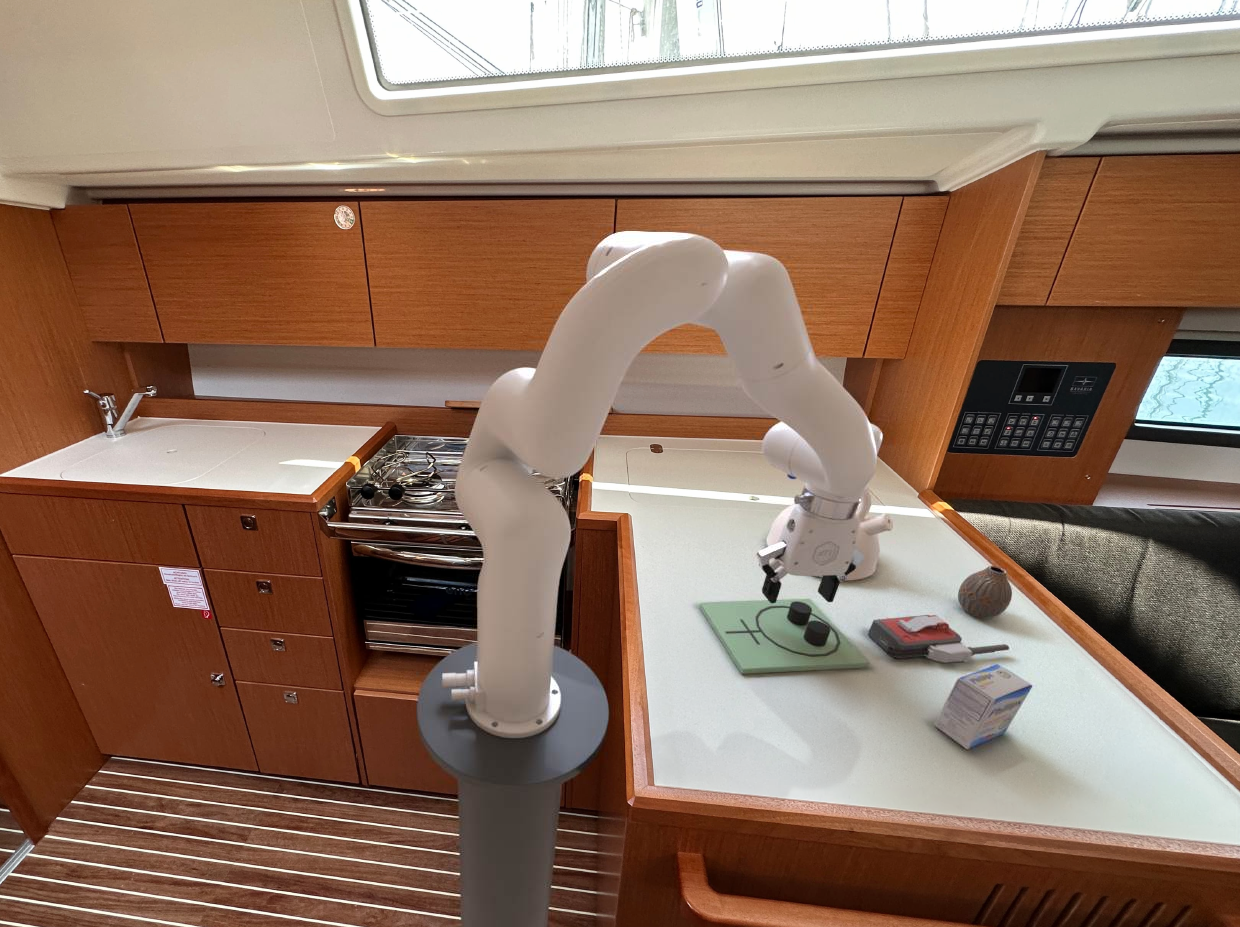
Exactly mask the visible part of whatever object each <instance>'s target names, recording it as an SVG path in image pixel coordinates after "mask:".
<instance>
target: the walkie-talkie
mask: <svg viewBox="0 0 1240 927" xmlns="http://www.w3.org/2000/svg"><path fill="white" fill-rule="evenodd" d="M867 636H869V637H870V638H871V639H872V640H873V641H874V642H875V643H876V644H878V645H879V646H880V647H881V648H882V650H884V651H885V652H886V653H887V654H888V655H889V656H891V657H893V658H896V659H907V658H915V657H926V658H927V659H930V660H933V661H937V662H940V663H944V664H947V663H955V662H957V663H958V662H969V660H970V658H971V657H972V656H975V655H983V654H990V653H991V654H992V653H995V652H1002V651H1009V650H1010V646H1009V645H1008V644H1005V643H1003V644H995V645H993V644H992V645H985V646H975V647H972V646H966V645H965V644H964V643H962V640H963V638H962V637H961V635H960V634H959V633H958V632H956V631H955V630H953V629H952V628H951V627H950V625H949V624H948V623H947V622H946V621H944V620H943V619H942V618H941V617H940V616H938V615H936V614H932V615H929V614H922V615H912V616H902V617H901V616H900V617H890V618H881V619H873V620H872V623H871V625H870V627H869V630H868V632H867Z"/></svg>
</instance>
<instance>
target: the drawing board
mask: <svg viewBox="0 0 1240 927" xmlns="http://www.w3.org/2000/svg"><path fill="white" fill-rule="evenodd" d="M795 601H799V602H803V603H806V604H807V605H809V606H810V607H811V608H812V612H811V615H810V618H809V621H808V622H810V621H820V622H822V623H825V624H826V625H827V626H829V628H830V634H829V636H828V639H827V642H826V644H825V645H824V646H822V647H817V646H813V645H811V644H809V643H808V642H806V641H805V639H804V633H805V631H806V628H807V625H808V624H807V625H805V626H799V625H795V624H793V623H791V622H790V621H789V620H788V619H787V615H788V611H789V608H790V605H791V603H792V602H795ZM698 607H699V610H700V611H701V612H702V614H703V615H704V617H705V619H706V621H707V622H708V623H709V625H710V628H712V631H713V632H714V633H715V634H716V636H717V638H718V640H719V641H720V643H721V644H722V646H723V648H724V649H725V650H726V652H727V654H728V655H729V657H730V659H731V660H732V662H733V664H734V665H735V666H736V668H737V669H738V671H739V672H740V674H741V675H745V674H747V675H748V674H766V673H785V672H804V671H805V672H806V671H825V670H844V669H847V670H848V669H867V668H868V667H869V666H870V662H869V661H868V659H867V658H866V657H865V656H864V655H863V654H862V653H861V652H860V651H859V650H858V648H857V647H855V646H854V644H853V643H852V642H851V641H850V640H849V639H848V638H847V637H846V636H845V634H843V632H841V630H840V629H839V628H837V626H836V625H835V624H834V623H833V622H832V621H831V620H830V618H828V617H827V615H825V613H824V612H822V610H821V609H820V608H819V607H818V606H817V605H816V604H815V603H814V602H813V601H812V600H811V598H791V599H777V601H776V602H775V603H770V602H769V601H768V599H764V600H737V601H706V602H703V601H702V602H699V606H698Z"/></svg>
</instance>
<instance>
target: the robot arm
mask: <svg viewBox="0 0 1240 927" xmlns="http://www.w3.org/2000/svg"><path fill="white" fill-rule="evenodd" d="M585 278H586V283H585V284H584V285H583V286H582V287H581V288H580V289H579V290H578V291H577V292H576V293H575V294H574V296H573V297H572V298H571V299H570V300H569V302H568V303H567V304H566V306H565V307H564V308H563V310H562V311H561V313H560V315H559V317H558V318H557V320H556V322H555V324H554V326H553V329H552V331H551V333H550V336H549V337H548V340H547V342H546V345H545V347H544V349H543V351H542V354H541V356H540V359H539V361H538V363H537V365H536V368H535V367H527V366H526V367H517V368H514V369H510V370H509V371H507V372H505V373H504V374H502V375H500V377H498V378H497V379H496V380H495V381H494V382H493V384H491V386H490V388H489V389H488V390H487V392H486V393H485V395H484V397H483V399H482V401H481V404H480V407H479V409H478V412H477V414H476V417H475V420H474V423H473V426H472V428H471V429H472V430H471V432H470V433H469V434H470V435H469V437H468V440H467V443H466V446H465V449H464V452H463V455H462V458H461V461H460V463H459V468H458V470H457V473H456V478H455V483H454V484H455V485H454V499H455V502H456V506H457V508H458V509H459V512H460V513H461V515H462V516H463V518H464V519H465V521H466V522H467V524H468V525H469V527H470V529H472V532H473V533H474V535H475V536H476V538H477V539H478V541H479V543H480V545H481V548H482V554H483V561H482V566H481V569H480V572H479V575H478V578H477V579H478V580H477V587H476V588H477V591H476V599H477V600H476V604H477V605H476V608H477V609H476V610H477V613H476V616H477V618H476V620H477V625H476V626H477V628H476V630H477V631H476V633H477V635H476V636H477V640H476V642H477V662H474V670H467V673H459V674H456V673H443V674H442V687H443V689H444V688H456V687H467V689H462V690H461V689H452V701H453V700H462V699H466V708H467V711H468V714H469V715H470V717H471V719H472V720H473V721H474V722H475V723H476V724H477V725H478V726H479V727H480V728H482V729H483V730H485V731H486V732H489V733H491V734H493V735H496V736H500V737H504V738H524V737H529V736H533V735H535V734H538V733H540V732H542V731H543V730H545V729H546V728H548V727H549V726H550V725H551V724H552V723H553V722H554V721H555V719H556V718H557V716H558V714H559V711H560V706H561V692H560V689H559V686H558V685H557V683H556V681H555V680H554V679H553V678H552V676H551V673H552V661H553V649H554V645H555V635H556V623H557V611H558V610H557V609H558V607H557V606H558V597H559V586H560V579H561V574H562V571H563V570H562V569H563V566H564V563H565V560H566V557H567V554H568V550H569V547H570V543H571V535H572V533H571V532H572V528H571V523H570V519H569V515H568V513H567V512H566V510H565V507H564V505H562V503H561V501H560V500H559V499H558V498H557V496H556V495H555V494H554V493H553V492H552V491H551V490H549V489H548V487H546V486H545V485H544V483H542V482H541V481H540V480H539V479H538V478H537V477H536V476H534V475H533V474H532V473H533V471H535V472H536V473H537V474H540V475H541V476H544V477H546V478H550V479H554V480H556V479H557V480H558V479H559V480H560V479H567V478H570V477H572V476H574V475H575V474H576V473H578V472H580V470H582V469H583V467H584V466H585V465H586V464H587V462H588V461H589V458H590V457H591V455H592V453H593V451H594V448H595V446H596V444H597V442H598V438H599V437H600V435H601V432H602V430H603V428H604V425H605V422H606V420H607V418H608V415H609V413H610V411H611V409H612V406H613V403H614V401H615V398H616V396H617V394H618V391H619V389H620V387H621V384H622V382H623V380H624V378H625V376H626V375H627V372H628V370H629V368H630V366H631V365H632V363H633V362H634V360H635V358H636V357H637V356H638V355H639V353H640V352H641V351H642V350H643V349H644V348H645V347H646V346H647V345H649V344H650V343H651V342H652V341H654V340H655V339H656V338H658V337H659V336H661V335H663V334H664V333H666V332H669V331H670V330H672V329H675V328H677V327H681V326H683V325H688V324H691V325H696V326H699V327H703V328H708V329H711V330H713V331H715V332H716V334H717V335H718V336H719V338H720V341H721V343H722V345H723V348H724V349H725V352H726V353H727V356H728V358H729V360H730V363H731V365H732V367H733V370H734V371H735V374H736V376H737V378H738V381H739V384H740V387H741V388H742V391H744V393H745V394H746V395H747V396H748V398H749V399H751V401H753V402H754V403H755V404H756V405H758V407H759V408H761V409H763V410H764V411H765V412H766V413H767V414H769V415H770V416H772V417H773V418H775V419H777V420H778V421H779V422H778V423H776V424H775V425H773V426H772V427H771V428H770V429H769V430H768V431H767V432H766V434H765V435H764V437H763V439H762V444H761V451H762V454H763V457H764V459H765V460H766V461H767V463H768V464H770V465H771V466H772V467H774V468H775V469H777V470H779V471H781V472H782V473H784V474H787V475H788V474H789V475H791V476H793V477H795V478H796V479H798V480H800V481H803V482H805V483H804V486H803V488H802V492H801V494H799V495H798V494H797V495H795V496H794V497H793V498H794V499H793V502H794V503H795V504H799V505H796V506H795V507H794V509H793V510H792V512H791V514H790V516H789V517H788V519H787V521H786V523H785V526H784V528H783V530H782V533H781V535H780V538H779V541H778V544H775V545H773V546H771V547H768V546H767V547H766V548H764V549H761V550H759V551H757V552H756V559H757V562H758V566H759V567H760V569H761V570H762V571H763V573H764V574H765V578H764V582H763V585H762V588H761V593H762V595H763V596H764V597H765V598H766V600H768V601H769V602H770V603H775V602H776V601H777V600H778V598H779V594H780V591H781V587H782V582H781V580H782V579H784V577H786V576H787V575H788V574H789V575H790V576H795V577H796V576H797V577H800V576H801V577H808V576H809V577H813V576H814V577H817V576H823V577H822V578H821V580H820V583H819V586H818V589H817V592H818V594H819V595H820V596H821V597H822V598H823V599H824V600H825V601H826V602H827V603H833V602H834V600H835V597H836V594H837V592H838V590H839V586H840V583H841V582H845V581H844V580H845V579H846V576H847V575H848V574H849V573H851V572H852V571H854V570H855V569H856V565H858V564H859V563H860V562H861V561H862V560H863V559H864V558H865V555H864V554H863V553H862V552H860V551H859V550H857V549H856V548H855V545H856V540H857V535H858V528H859V516H858V515H857V514H856V511H857V509H858V508H859V507H860V504H861V498H862V495H863V492H864V489H865V487H866V486H867V487H868V485H869V484H870V482H871V481H872V479H873V477H874V475H875V472H876V469H877V464H878V454H879V451H880V448H881V445H882V442H883V432H882V429H880V427H879V426H877V425H875V424H874V423H871V422H870V420H869V418H868V416H867V414H866V413H865V411H864V409H863V408H862V407H861V405H860V404H859V403H858V402H857V400H856V399H855V398H854V397H853V395H851V393H850V392H849V391H848V390H846V389H845V387H844V386H843V385H842V384H841V383H840V382H839V381H838V379H837V378H835V375H833V374H832V373H831V372H830V371H829V370H828V369H827V368H826V367H825V366H824V365H823V364H822V363H821V362H820V361H819V359H818V358H817V357H816V354H815V351H814V348H813V345H812V341H811V339H810V336H809V333H808V329H807V326H806V323H805V320H804V318H803V315H802V310H801V307H800V304H799V301H798V298H797V296H796V291H795V289H794V286H793V283H792V280H791V278H790V275H789V273H788V270H787V268H786V267H785V266H784V264H783V263H782V262H781V261H780V260H779V259H777V258H775V257H774V256H771V255H769V254H765V253H760V252H754V251H753V252H752V251H741V250H740V251H739V250H730V249H729V250H727V249H723V248H722V247H721V246H720V245H719V244H718V243H716V242H715V241H713V240H712V239H710V238H707V237H705V236H702V235H699V234H695V233H687V232H669V231H656V232H655V231H654V232H653V231H636V230H635V231H634V230H632V231H631V230H630V231H629V230H627V231H620V232H616V233H613V234H611V235H609V236H607V237H606V238H604V239H603V240H601V241H600V242H599V244H597V245H596V247H595V248H594V250H593V251H592V253H591V255H590V257H589V259H588V262H587V265H586V273H585ZM773 558H774V560H773V561H771V562H770V560H772V559H773ZM779 568H780V569H779ZM777 569H778V570H777ZM776 570H777V571H776Z"/></svg>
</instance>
